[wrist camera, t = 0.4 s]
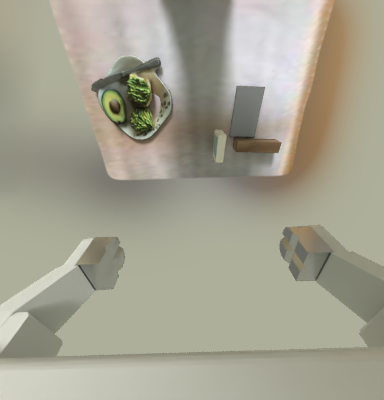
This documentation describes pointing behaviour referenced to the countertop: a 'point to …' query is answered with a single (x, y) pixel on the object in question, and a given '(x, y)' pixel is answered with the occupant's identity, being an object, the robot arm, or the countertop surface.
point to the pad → (246, 110)
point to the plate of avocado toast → (133, 96)
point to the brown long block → (256, 145)
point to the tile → (219, 146)
